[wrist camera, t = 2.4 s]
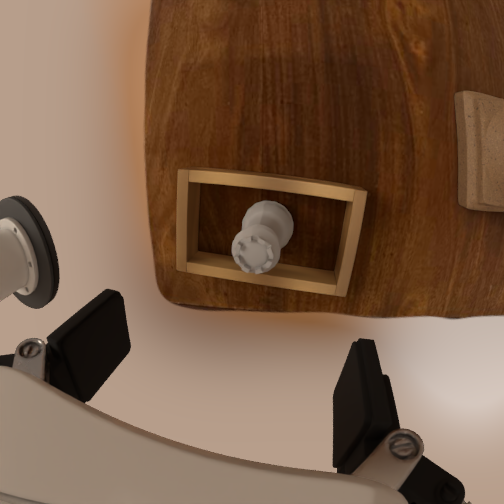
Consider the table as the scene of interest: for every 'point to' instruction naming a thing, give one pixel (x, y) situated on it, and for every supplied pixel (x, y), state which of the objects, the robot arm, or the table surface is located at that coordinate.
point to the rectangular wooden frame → (281, 273)
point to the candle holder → (480, 151)
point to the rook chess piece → (262, 237)
